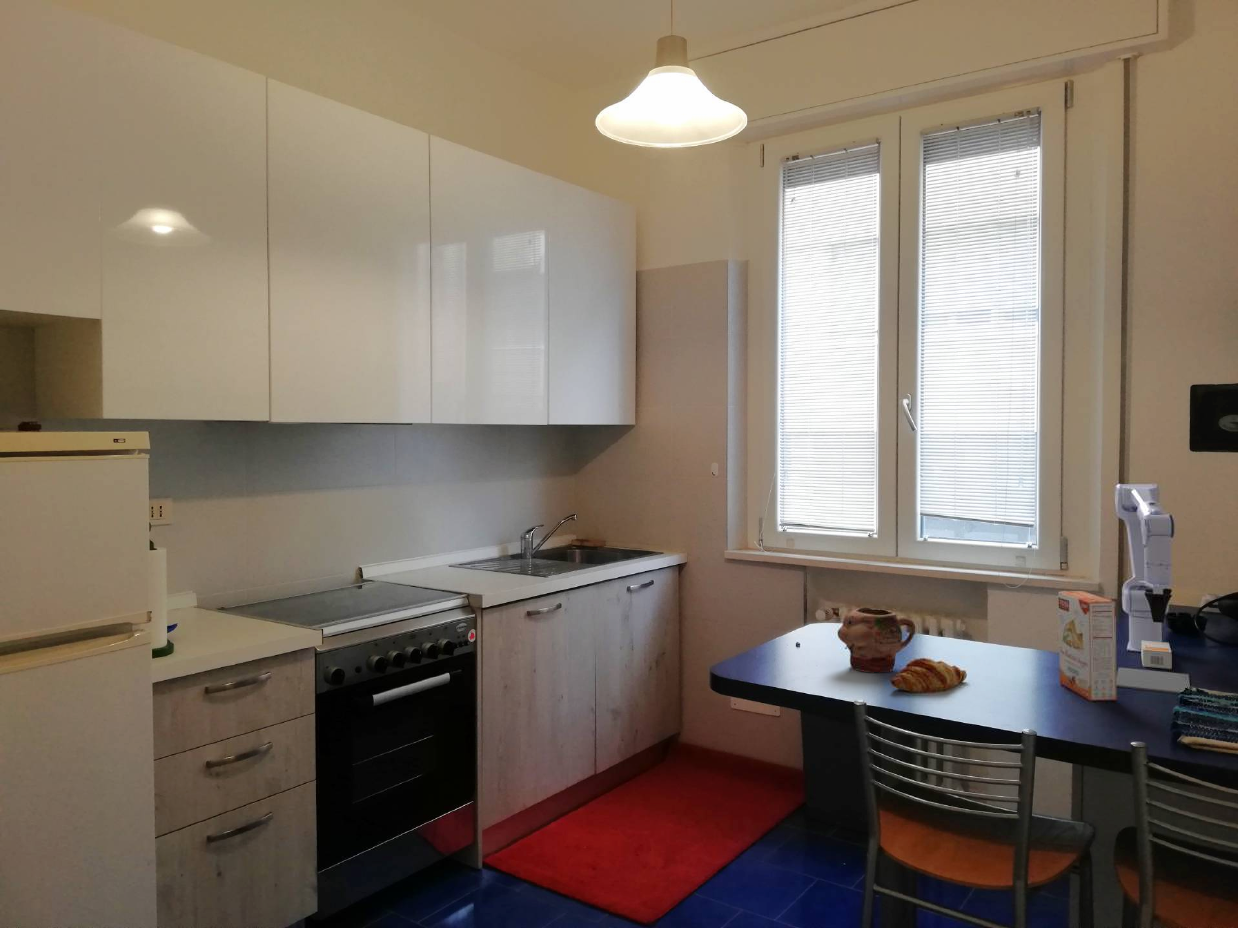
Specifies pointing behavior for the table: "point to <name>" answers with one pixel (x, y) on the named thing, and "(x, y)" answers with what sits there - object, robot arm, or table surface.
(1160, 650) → the skincare box
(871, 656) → the brown sculpted mug
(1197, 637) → the table surface
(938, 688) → the croissant
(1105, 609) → the cracker box
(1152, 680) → the rubber mat
